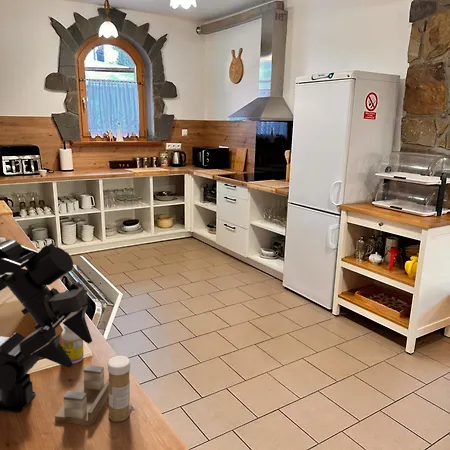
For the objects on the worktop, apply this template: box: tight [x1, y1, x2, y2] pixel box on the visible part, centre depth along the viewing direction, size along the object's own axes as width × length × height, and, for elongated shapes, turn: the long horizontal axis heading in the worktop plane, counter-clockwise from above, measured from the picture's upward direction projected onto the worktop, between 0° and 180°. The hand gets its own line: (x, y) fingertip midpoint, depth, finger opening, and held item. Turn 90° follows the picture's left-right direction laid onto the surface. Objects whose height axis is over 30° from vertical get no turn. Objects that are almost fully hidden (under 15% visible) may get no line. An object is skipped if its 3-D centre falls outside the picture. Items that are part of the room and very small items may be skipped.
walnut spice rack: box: [54, 364, 109, 427], centre depth 94 cm, size 8×12×6 cm, turn 174°
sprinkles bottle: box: [107, 355, 131, 422], centre depth 90 cm, size 5×5×13 cm
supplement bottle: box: [60, 324, 84, 365], centre depth 109 cm, size 5×5×10 cm
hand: (81, 353), depth 89 cm, fingers open, 9 cm apart
